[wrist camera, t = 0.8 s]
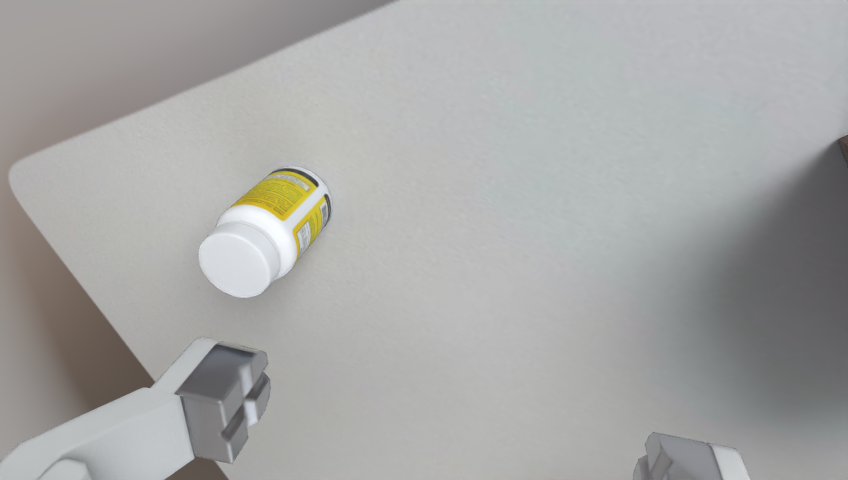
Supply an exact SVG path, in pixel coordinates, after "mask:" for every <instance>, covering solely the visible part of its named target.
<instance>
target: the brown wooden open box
mask: <svg viewBox="0 0 848 480" xmlns="http://www.w3.org/2000/svg"><path fill="white" fill-rule="evenodd" d="M838 143H839V145H840V148H841V151H842V153H843V156H844V159H845V161H846V164H847V167H848V135H847V136H845V137H842V138H840V139H838Z"/></svg>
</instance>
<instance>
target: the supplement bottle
mask: <svg viewBox="0 0 848 480" xmlns="http://www.w3.org/2000/svg"><path fill="white" fill-rule="evenodd" d="M331 214H332V199H331V195H330V193H329V191H328V189H327V187H326V186H325V184H324V183H323V182H322V181H321V180H320V179H319V178H318V177H317V176H316V175H315V174H313V173H312V172H310V171H309V170H307V169H304V168H301V167H296V166H286V167H282V168H279V169H277V170H275V171H273V172H272V173H270V174H269V175H268V176H267V177H266V178H264V179H263V180H262V181H261V182H260V183H258V184H257V185H256V186H255V187H254V188H253V189H251V190H250V191H249V192H248V193H247V194H245V195H244V196H243V197H242V198H240V199H239V200H238V201H237V202H236V203H235V204H233V205H232V206H231V207H230V208H228V209H227V210H226V211H225V212H224V213H223V214H222V215H221V217H220V218H219V220H218V222H217V224H216V228H215V230H214V231H213V232H212V233H211V234H210V235H208V236H207V237H206V238H205V239H204V241H203V242H202V243H201V245H200V248H199V252H198V260H199V264H200V267H201V269H202V271H203V273H204V275H205V276H206V278H207V279H208V280H209V281H210V282H211V283H212V284H213V285H214V286H215V287H216V288H218V289H219V290H221V291H222V292H224V293H226V294H229V295H231V296H234V297H239V298H250V297H254V296H257V295H259V294H261V293H262V292H263V291H264V290H265V289H266V288H267V287H268V286H269V285H270V284H271V283H272V282H273V281H274V280H275V279H278V278H280V277H282V276H284V275H285V274H287V273H288V272H289V271H290V270H291V269H292V267H293V266H294V265H295V264H296V262H297V261H298V260H299V258H300V257H301V256H302V255H303V253H304V252H305V251H306V250H307V248H308V247H309V246H310V244H311V243H312V242H313V241H314V239H315V238H316V237H317V235H318V234H319V233H320V232H321V230H322V229H323V228H324V227H325V225H326V224H327V222H328V221H329V219H330V217H331Z"/></svg>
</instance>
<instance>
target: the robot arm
mask: <svg viewBox="0 0 848 480" xmlns="http://www.w3.org/2000/svg"><path fill="white" fill-rule="evenodd" d="M267 365H268V360H267V354H266V352H264V351H261V350H257V349H253V348H249V347H245V346H240V345H236V344H232V343H228V342H223V341H218V340H213V339H209V338H205V337H199V338H197V339H195V340H194V341H193V342H192V343H191V344H190V345H189V346H188V347H187V348H186V349H185V350H184V351H183V353H182V354H181V355H180V356H179V357H178V358H177V359H176V360H175V361H174V362H173V364H172V365H171V366H170V367H169V368H168V369H167V370H166V371H165V372H164V373H163V375H162V376H161V377H160V378H159V379H158V380H157V381H156V382H155V383H154V384H153V386H152V387H151V388H145V387H143V388H141V389H138V390H136V391H134V392H132V393H130V394H127V395H125V396H123V397H121V398H119V399H116V400H114V401H112V402H110V403H107V404H105V405H103V406H101V407H99V408H96V409H94V410H92V411H90V412H88V413H85V414H83V415H81V416H79V417H76V418H74V419H72V420H70V421H68V422H65V423H63V424H61V425H59V426H56V427H54V428H52V429H50V430H48V431H45V432H43V433H41V434H39V435H37V436H34V437H32V438H30V439H28V440H26V441H23V442H21V443H19V444H18V445H17V446H16V447H15V448H14V449H12V450H11V451H10V452H9V453H8V454H7V455H6V456H5V457H4V458H3V459H2V460H1V461H0V480H164V479H166V478H167V477H169V476H170V475H171V474H173V473H174V472H176V471H177V470H179V469H180V468H181V467H183V466H184V465H186V464H187V463H188V462H190V461H191V460H193V459H194V456H197V457H201V458H206V459H211V460H215V461H220V462H225V463H229V464H233V462H234V460H235V459H236V457H237V456H238V454H239V452H240V451H241V449H242V447H243V446H244V444H245V443H246V441H247V439H248V432H247V428H248V427H250V426H251V425H253V424H255V423H256V422H258V421H259V420H260V418H261V416H262V414H263V413H264V411H265V409H266V406H267V403H268V400H269V396H270V379H269V377H268V376H267V375H266V374H265V373H264V370H265V368H266V367H267ZM645 447H646V452H647V455H646V456H644V457H642V458H640V459H638V462H637V464H636V467H635V470H634V475H633V480H750V478H749V476H748V473H747V471H746V468H745V465H744V463H743V460H742V458H741V455H740V453H739V452H738V451H737V450H736V449H735V448H730V447H725V446H720V445H715V444H710V443H705V442H701V441H696V440H691V439H686V438H681V437H676V436H671V435H666V434H660V433H655V432H653V433H652V434H651V435H649V437H648V439H647V441H646V443H645Z"/></svg>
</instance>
